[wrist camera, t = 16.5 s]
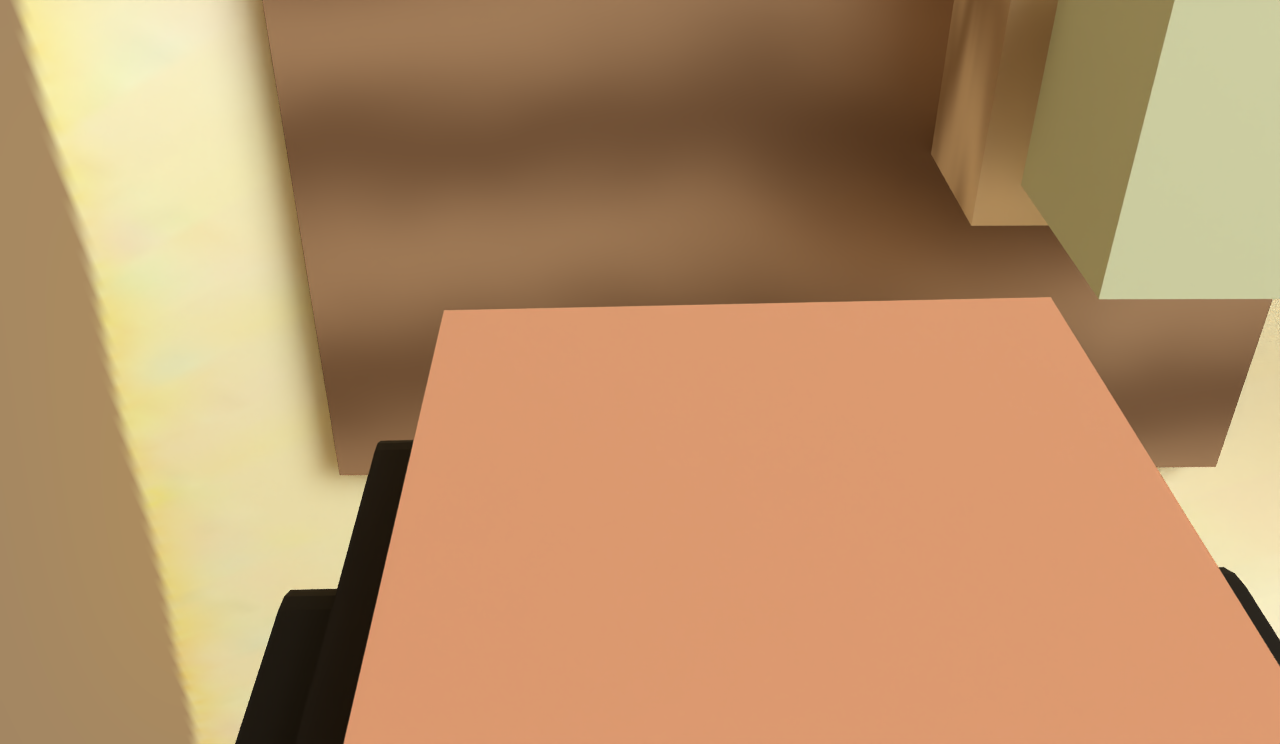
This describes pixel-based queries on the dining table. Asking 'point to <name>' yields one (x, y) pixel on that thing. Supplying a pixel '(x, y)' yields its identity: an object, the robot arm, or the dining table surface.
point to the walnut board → (667, 189)
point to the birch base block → (992, 106)
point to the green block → (1162, 146)
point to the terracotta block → (794, 540)
